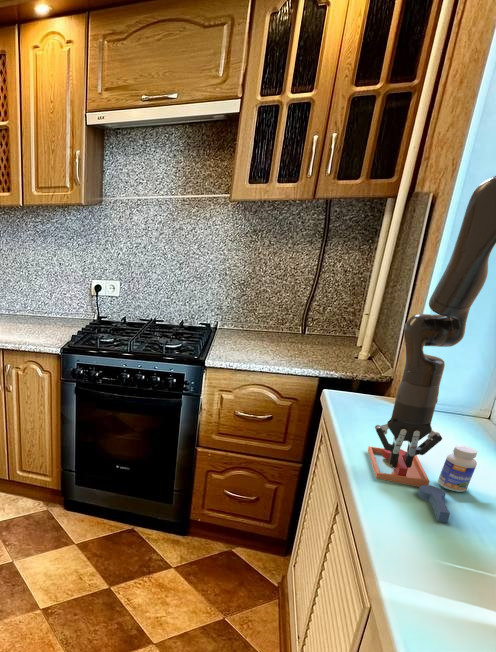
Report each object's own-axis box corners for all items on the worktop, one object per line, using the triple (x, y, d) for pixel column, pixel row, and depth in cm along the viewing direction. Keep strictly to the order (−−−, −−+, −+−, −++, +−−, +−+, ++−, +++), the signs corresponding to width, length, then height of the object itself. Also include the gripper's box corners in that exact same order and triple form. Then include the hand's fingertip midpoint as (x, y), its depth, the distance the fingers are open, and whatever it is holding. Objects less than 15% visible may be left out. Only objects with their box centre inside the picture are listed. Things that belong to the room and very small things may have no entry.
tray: (367, 453, 140) (368, 446, 139) (413, 459, 135) (415, 452, 135) (375, 480, 126) (377, 472, 125) (427, 488, 122) (429, 481, 121)
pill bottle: (444, 490, 121) (458, 453, 117) (432, 478, 125) (446, 442, 122) (471, 494, 119) (486, 456, 116) (459, 481, 124) (473, 445, 121)
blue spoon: (415, 490, 121) (417, 481, 121) (440, 494, 119) (443, 485, 119) (428, 519, 110) (431, 510, 109) (456, 525, 108) (459, 515, 107)
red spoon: (380, 451, 137) (382, 443, 136) (403, 455, 135) (405, 446, 134) (389, 475, 125) (391, 466, 124) (413, 479, 123) (416, 470, 122)
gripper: (448, 398, 122) (429, 465, 128) (378, 391, 127) (363, 455, 133) (457, 409, 115) (437, 479, 121) (383, 401, 121) (367, 468, 127)
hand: (398, 466), depth 127 cm, fingers closed on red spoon, 1 cm apart
